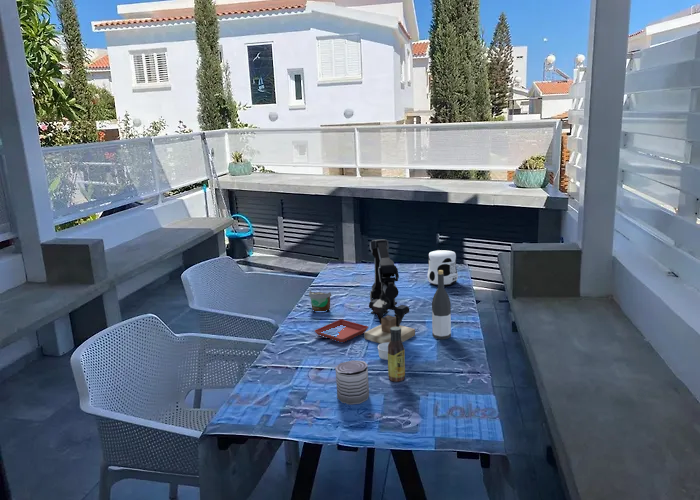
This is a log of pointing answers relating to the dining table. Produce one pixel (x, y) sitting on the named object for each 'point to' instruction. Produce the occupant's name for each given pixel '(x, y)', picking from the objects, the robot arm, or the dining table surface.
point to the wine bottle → (441, 311)
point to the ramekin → (383, 350)
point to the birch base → (387, 334)
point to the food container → (320, 301)
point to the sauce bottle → (396, 356)
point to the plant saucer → (347, 333)
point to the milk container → (442, 267)
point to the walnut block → (388, 323)
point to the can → (352, 382)
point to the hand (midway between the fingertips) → (389, 325)
